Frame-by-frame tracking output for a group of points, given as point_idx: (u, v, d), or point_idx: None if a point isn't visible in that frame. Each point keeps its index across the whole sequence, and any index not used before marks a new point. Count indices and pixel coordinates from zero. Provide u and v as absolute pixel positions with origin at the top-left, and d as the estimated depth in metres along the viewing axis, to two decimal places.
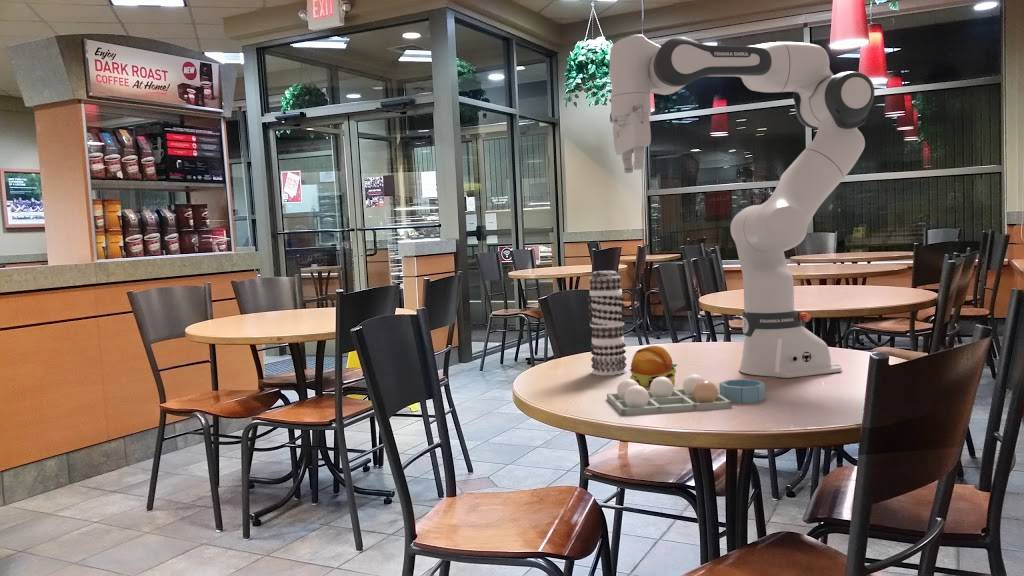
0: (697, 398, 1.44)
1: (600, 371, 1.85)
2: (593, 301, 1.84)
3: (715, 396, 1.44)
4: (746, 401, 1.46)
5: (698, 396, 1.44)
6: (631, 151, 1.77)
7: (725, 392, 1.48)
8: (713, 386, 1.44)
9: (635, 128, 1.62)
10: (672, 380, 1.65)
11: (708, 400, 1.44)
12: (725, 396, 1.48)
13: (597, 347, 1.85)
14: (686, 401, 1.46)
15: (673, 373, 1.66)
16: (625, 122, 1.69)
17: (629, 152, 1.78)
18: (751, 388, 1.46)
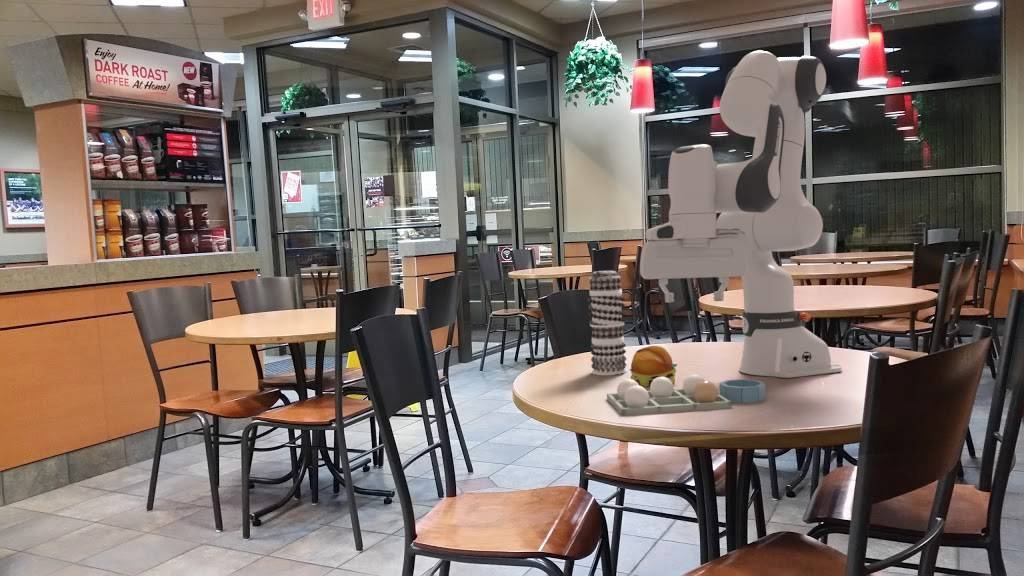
0: (697, 398, 1.44)
1: (600, 371, 1.85)
2: (593, 301, 1.84)
3: (715, 396, 1.44)
4: (746, 401, 1.46)
5: (698, 396, 1.44)
6: None
7: (725, 392, 1.48)
8: (713, 386, 1.44)
9: (746, 257, 1.44)
10: (672, 380, 1.65)
11: (708, 400, 1.44)
12: (725, 396, 1.48)
13: (597, 347, 1.85)
14: (686, 401, 1.46)
15: (673, 373, 1.66)
16: (708, 245, 1.44)
17: None
18: (751, 388, 1.46)
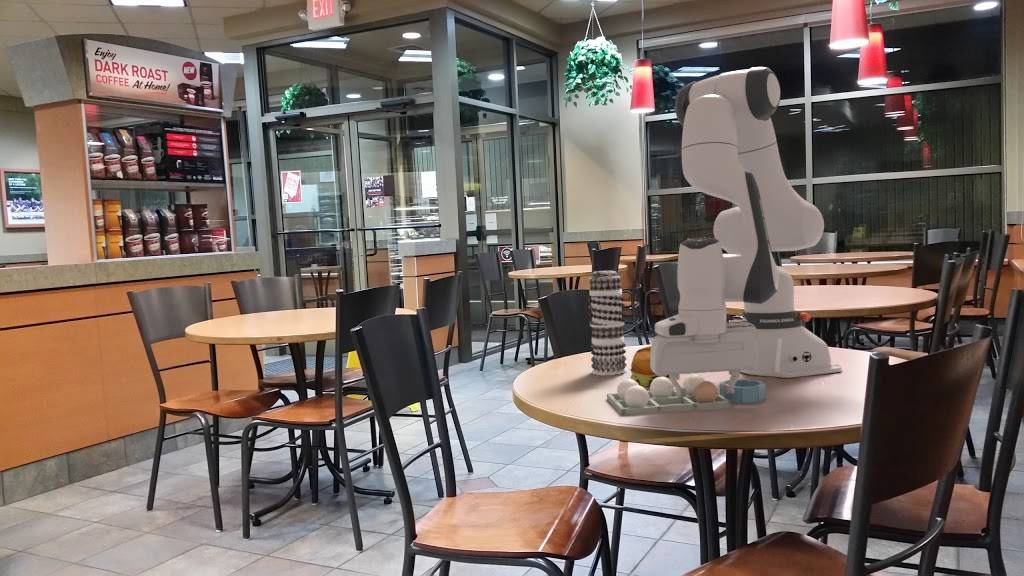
0: (697, 398, 1.44)
1: (600, 371, 1.85)
2: (593, 301, 1.84)
3: (715, 396, 1.44)
4: (746, 401, 1.46)
5: (698, 396, 1.44)
6: None
7: None
8: (713, 386, 1.44)
9: (756, 350, 1.44)
10: None
11: (708, 400, 1.44)
12: (725, 396, 1.48)
13: (597, 347, 1.85)
14: (686, 401, 1.46)
15: None
16: (719, 340, 1.43)
17: None
18: (751, 388, 1.46)
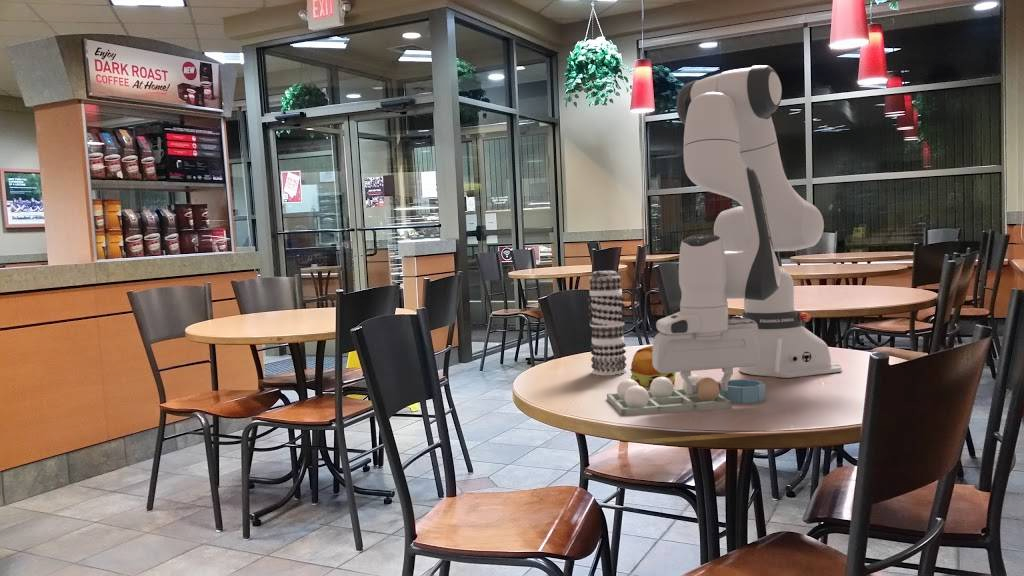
0: (699, 395, 1.45)
1: (600, 371, 1.85)
2: (593, 301, 1.84)
3: (717, 392, 1.44)
4: (746, 401, 1.46)
5: (700, 393, 1.44)
6: None
7: (725, 392, 1.48)
8: (715, 383, 1.44)
9: (758, 346, 1.44)
10: (672, 380, 1.65)
11: (709, 397, 1.44)
12: (725, 396, 1.48)
13: (597, 347, 1.85)
14: (686, 401, 1.46)
15: (673, 373, 1.66)
16: (721, 337, 1.43)
17: None
18: (751, 388, 1.46)
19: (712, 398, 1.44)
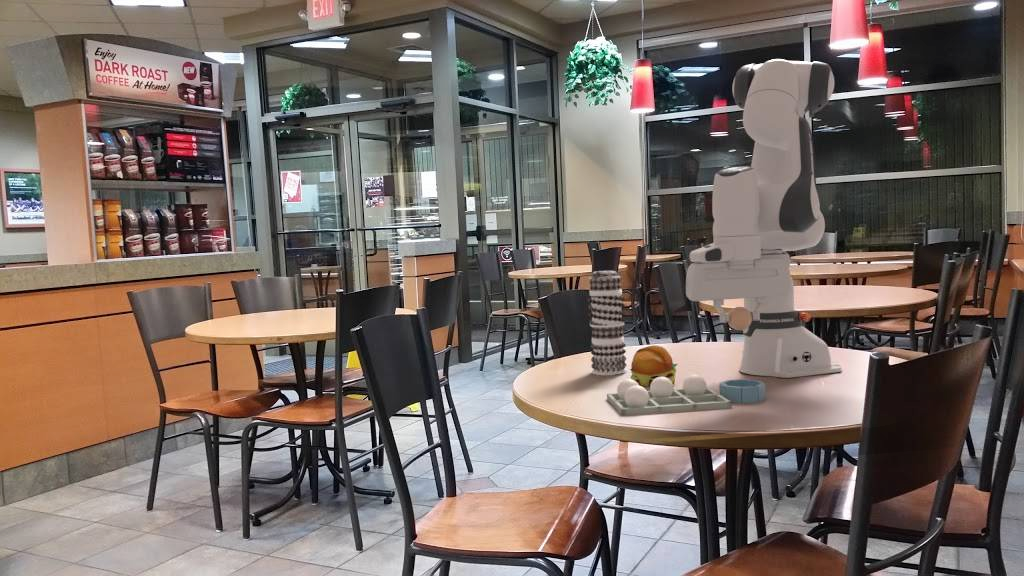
0: (731, 323, 1.48)
1: (600, 371, 1.85)
2: (593, 301, 1.84)
3: (749, 321, 1.47)
4: (746, 401, 1.46)
5: (732, 321, 1.47)
6: None
7: (725, 392, 1.48)
8: (747, 311, 1.47)
9: (790, 276, 1.47)
10: (672, 380, 1.66)
11: (742, 325, 1.47)
12: (725, 396, 1.48)
13: (597, 347, 1.85)
14: (686, 401, 1.46)
15: (673, 373, 1.66)
16: (754, 266, 1.46)
17: None
18: (751, 388, 1.46)
19: (745, 326, 1.47)
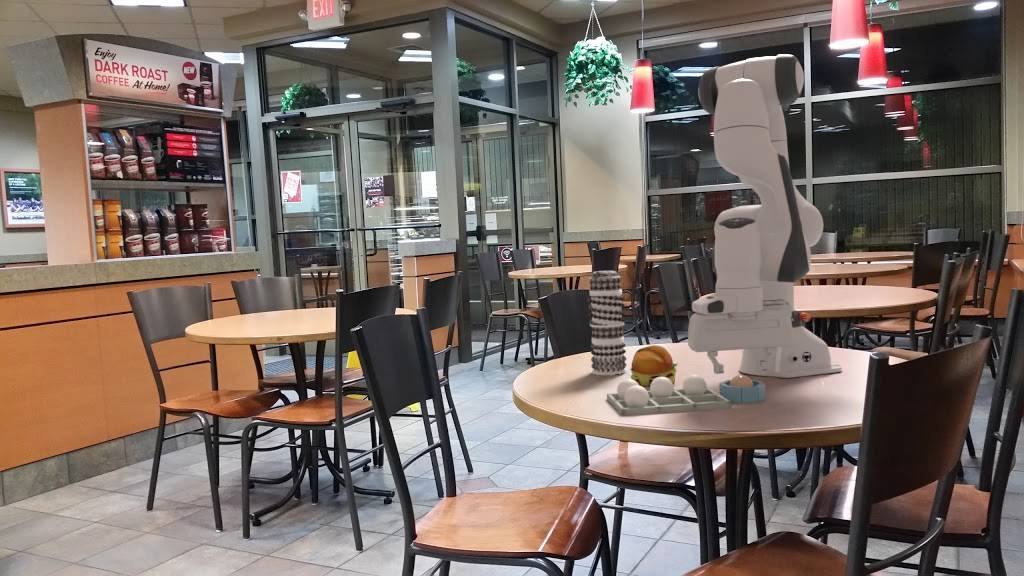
0: None
1: (600, 371, 1.85)
2: (593, 301, 1.84)
3: None
4: (746, 401, 1.46)
5: None
6: None
7: (725, 392, 1.48)
8: (749, 380, 1.48)
9: (792, 327, 1.48)
10: (672, 379, 1.66)
11: None
12: (725, 396, 1.48)
13: (597, 347, 1.85)
14: (686, 401, 1.46)
15: (673, 372, 1.67)
16: (756, 317, 1.47)
17: None
18: (751, 388, 1.46)
19: None
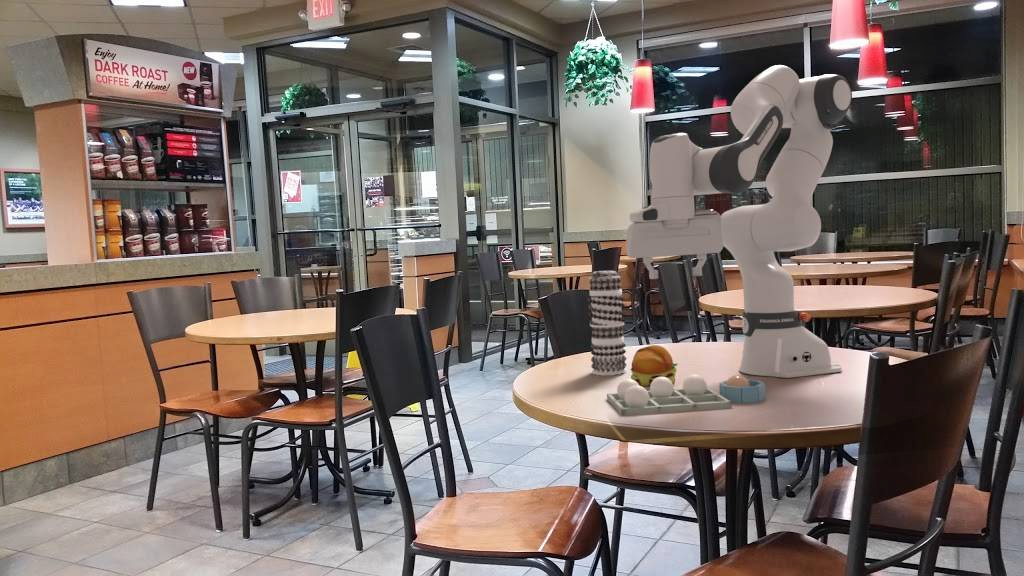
0: None
1: (600, 371, 1.85)
2: (593, 301, 1.84)
3: None
4: (746, 401, 1.46)
5: None
6: None
7: (725, 392, 1.48)
8: (742, 379, 1.48)
9: (721, 235, 1.59)
10: (672, 379, 1.66)
11: None
12: (725, 396, 1.48)
13: (597, 347, 1.85)
14: (686, 401, 1.46)
15: (673, 372, 1.67)
16: (688, 225, 1.58)
17: None
18: (751, 388, 1.46)
19: None
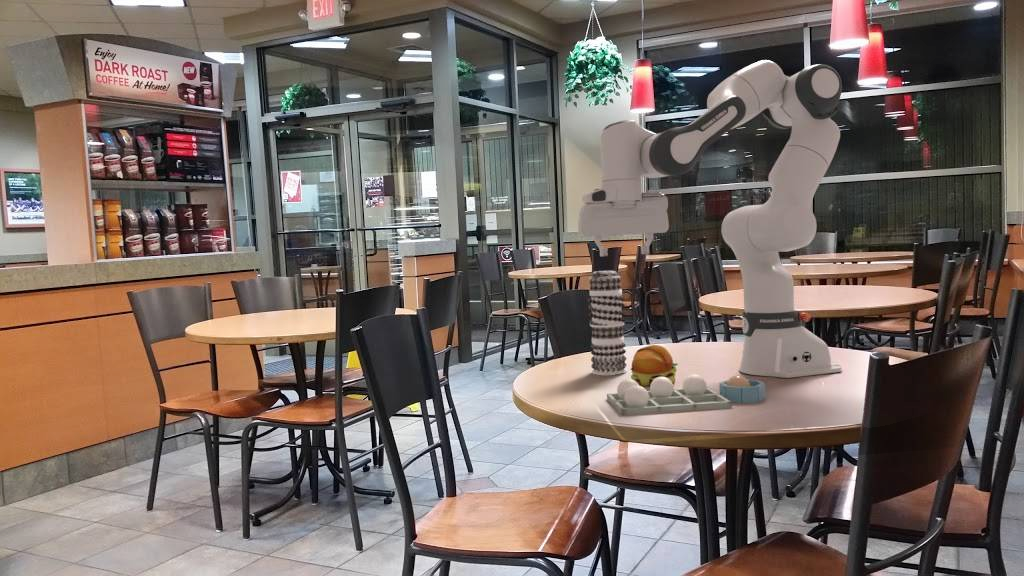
0: None
1: (600, 371, 1.85)
2: (593, 301, 1.84)
3: None
4: (746, 401, 1.46)
5: None
6: None
7: (725, 392, 1.48)
8: (743, 379, 1.48)
9: (667, 216, 1.70)
10: (672, 379, 1.66)
11: None
12: (725, 396, 1.48)
13: (597, 347, 1.85)
14: (686, 401, 1.46)
15: (673, 372, 1.67)
16: (635, 206, 1.69)
17: None
18: (751, 388, 1.46)
19: None
